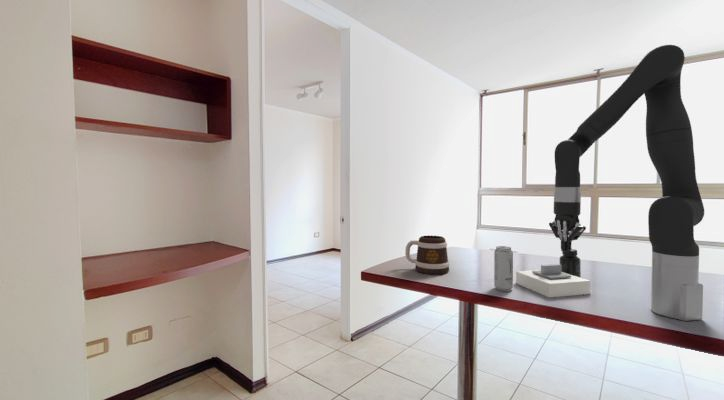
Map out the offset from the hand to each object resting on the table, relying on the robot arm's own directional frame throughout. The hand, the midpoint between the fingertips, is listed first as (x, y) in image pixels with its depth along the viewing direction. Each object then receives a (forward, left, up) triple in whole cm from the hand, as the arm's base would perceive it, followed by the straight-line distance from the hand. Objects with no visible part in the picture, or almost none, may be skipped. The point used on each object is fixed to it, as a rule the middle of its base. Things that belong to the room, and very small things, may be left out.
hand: (565, 251), depth 104 cm
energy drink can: (+9, +17, -15) cm, 24 cm away
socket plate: (+6, 0, -14) cm, 16 cm away
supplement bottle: (+13, -15, -15) cm, 25 cm away
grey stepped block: (+6, 0, -9) cm, 11 cm away
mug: (+40, +33, -15) cm, 54 cm away
